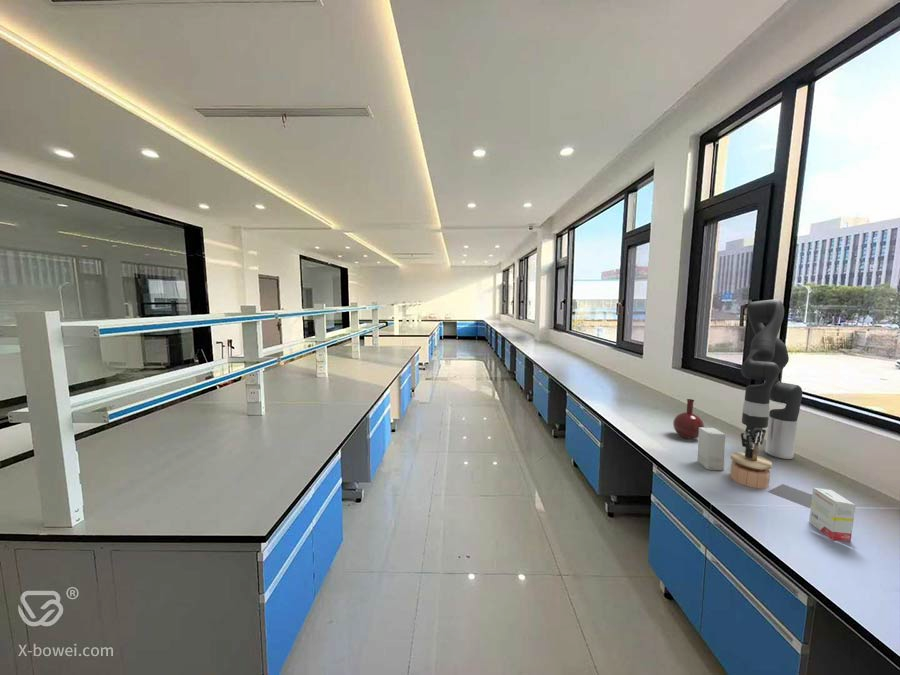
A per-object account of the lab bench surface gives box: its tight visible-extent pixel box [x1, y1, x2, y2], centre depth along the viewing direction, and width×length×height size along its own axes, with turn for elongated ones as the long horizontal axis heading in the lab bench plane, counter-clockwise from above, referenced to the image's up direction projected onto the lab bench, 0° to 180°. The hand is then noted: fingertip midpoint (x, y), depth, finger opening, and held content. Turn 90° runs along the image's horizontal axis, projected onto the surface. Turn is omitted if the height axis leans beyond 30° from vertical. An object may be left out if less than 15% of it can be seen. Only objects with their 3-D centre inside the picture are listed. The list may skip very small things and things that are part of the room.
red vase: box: [672, 398, 706, 440], centre depth 176 cm, size 13×13×20 cm
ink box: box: [808, 487, 856, 542], centre depth 104 cm, size 9×5×12 cm, turn 168°
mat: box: [767, 483, 813, 509], centre depth 123 cm, size 12×12×1 cm
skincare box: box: [696, 427, 726, 472], centre depth 146 cm, size 8×7×16 cm
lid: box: [730, 443, 773, 470], centre depth 133 cm, size 12×12×7 cm
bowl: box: [729, 460, 771, 489], centre depth 134 cm, size 11×11×6 cm
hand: (751, 456), depth 133 cm, fingers closed on lid, 3 cm apart
